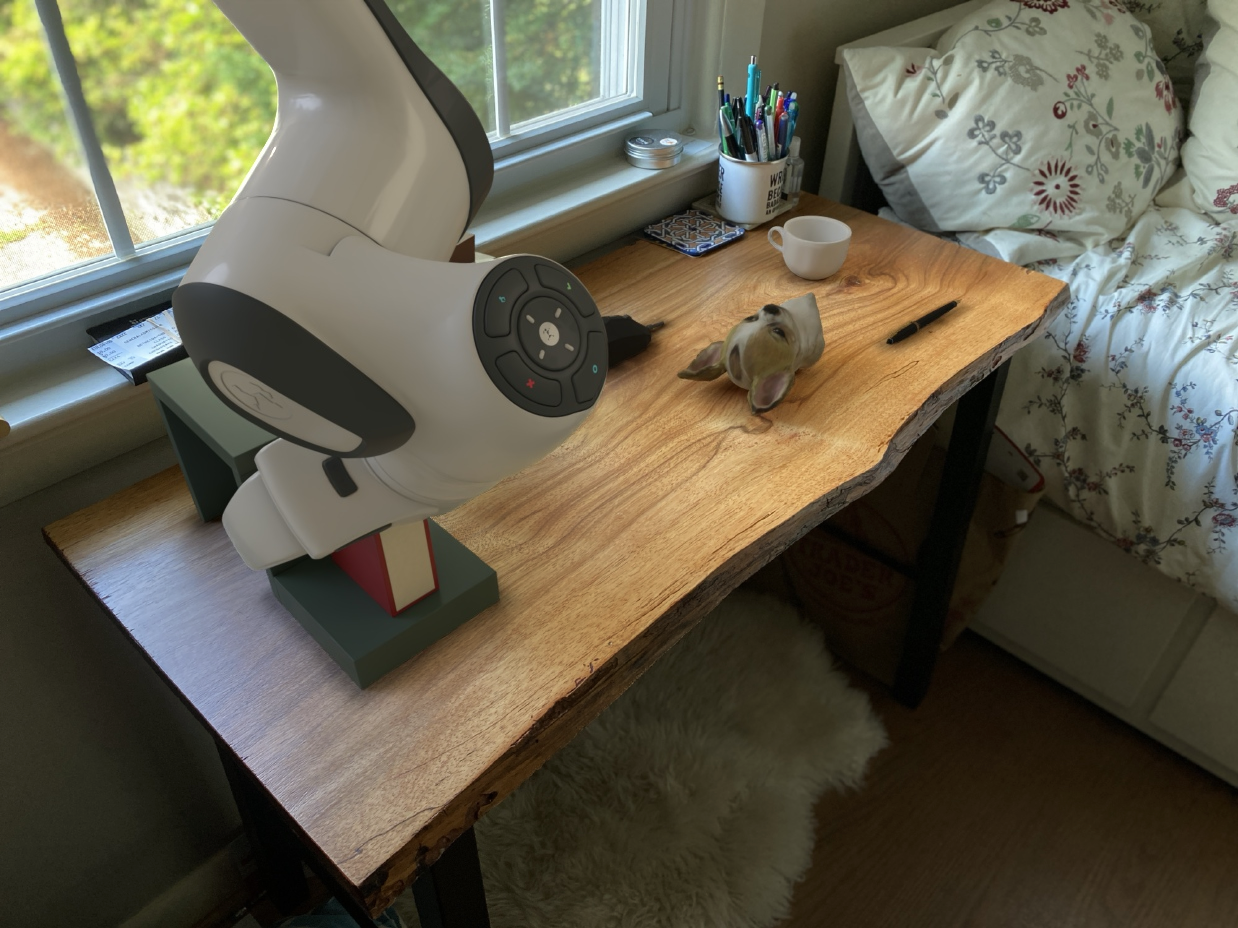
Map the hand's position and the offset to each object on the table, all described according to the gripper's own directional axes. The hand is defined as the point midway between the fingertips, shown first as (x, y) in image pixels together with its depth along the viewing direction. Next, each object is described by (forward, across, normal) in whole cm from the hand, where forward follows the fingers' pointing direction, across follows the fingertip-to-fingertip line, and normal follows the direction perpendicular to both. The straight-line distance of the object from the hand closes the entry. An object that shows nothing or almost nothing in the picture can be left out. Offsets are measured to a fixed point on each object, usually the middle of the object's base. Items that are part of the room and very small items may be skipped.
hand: (361, 488), depth 63 cm
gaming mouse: (+18, -37, -2) cm, 41 cm away
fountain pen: (+3, -65, +12) cm, 66 cm away
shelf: (+12, 0, +3) cm, 13 cm away
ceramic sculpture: (+7, -43, +9) cm, 44 cm away
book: (+5, 0, +6) cm, 8 cm away
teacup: (+15, -66, 0) cm, 68 cm away
